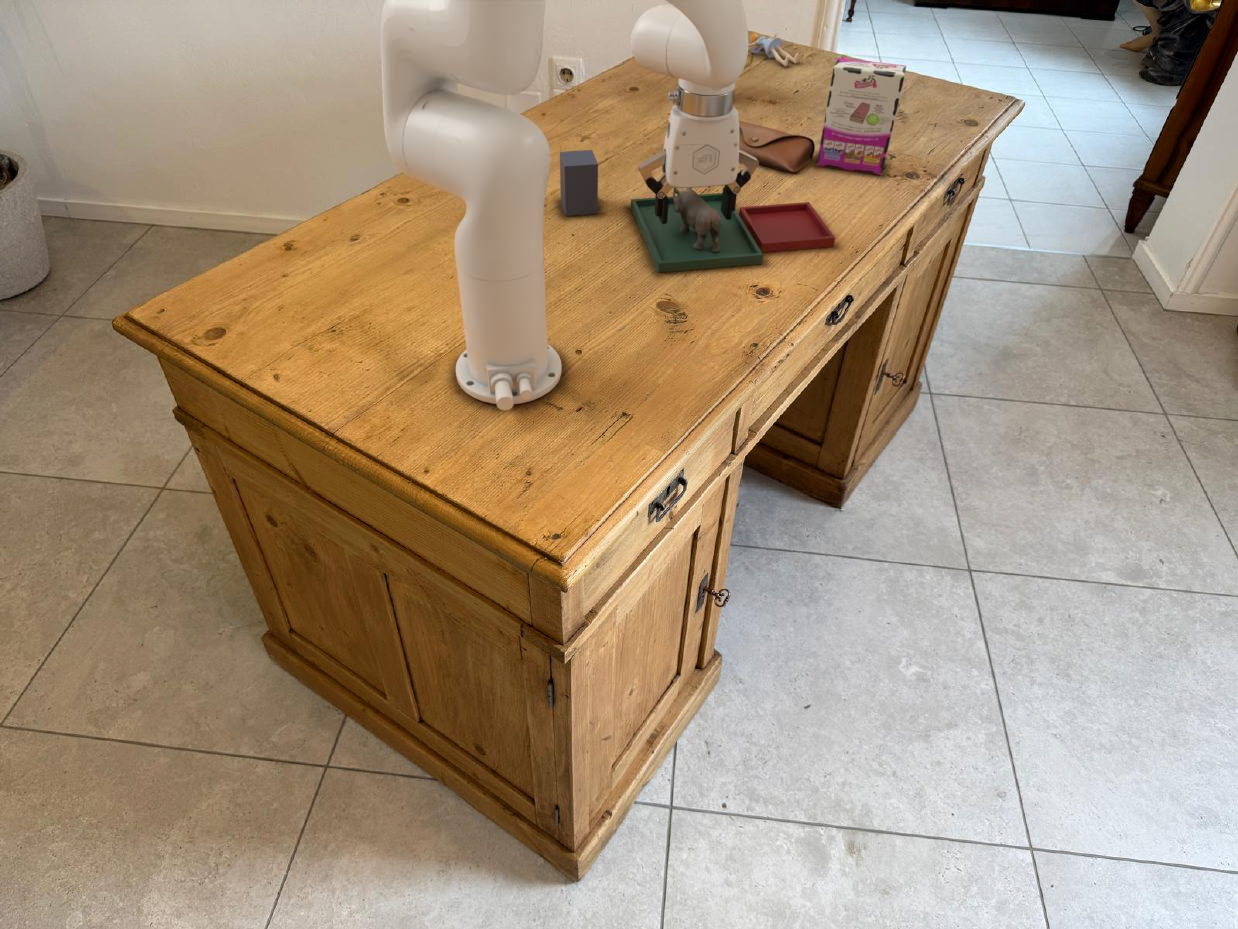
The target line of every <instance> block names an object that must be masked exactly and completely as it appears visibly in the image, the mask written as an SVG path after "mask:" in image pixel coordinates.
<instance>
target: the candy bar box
mask: <svg viewBox="0 0 1238 929" xmlns="http://www.w3.org/2000/svg"><path fill="white" fill-rule="evenodd" d="M906 70H907V65H903V64H895V63H887V62H881V61H880V62H879V61H871V60H870V61H869V60H863V59H862V60H860V59H852V58H844V57H837V59H836V61H835V63H834V65H833V69H832V74H831V79H830V85H829V92H828V98H827V103H826V110H825V114H824V120H823V126H822V132H821V138H820V142H819V143H820V144H819V148H818V153H817V159H816V166H817V167H821V168H829V169H835V170H842V171H850V172H856V173H864V174H871V175H877V176H881V175H883V172H884V168H885V164H886V161H887V156H888V152H889V147H890V143H891V139H892V135H893V130H894V125H895V122H896V117H897V114H898V113H897V112H898V108H899V104H900V99H901V95H902V91H903V90H902V89H903V85H904V81H905V75H906Z"/></svg>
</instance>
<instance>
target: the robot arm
mask: <svg viewBox="0 0 1238 929" xmlns="http://www.w3.org/2000/svg"><path fill="white" fill-rule="evenodd" d="M665 1H666V2H668V3H667V4H666V3H665V4H659V5H655V6H653V7H651V8H648V9H647V10H646V11H644V12H643V13H642V14H641V15H640V16H639V18H637V20H636V22H635V23H634V26H633V28H632V31H631V35H630V49H631V53H632V56H633V58H634V59H635V61H636V62H637V63H638V65H640V66H641V67H642V68H644V69H645V70H647V71H650V72H653V73H656V74H659V75H663V76H666V77H670V78H674V79H678V83H676V88H675V90H673V91H667V93H666V101H667V104H670V103H671V104H673V106H672V107H671V110H670V114H669V118H668V122H667V125H666V126H667V127H666V129H665V130H666V131H665V136H664V142H663V148H662V149H663V150H662V151H660V152H658V153H656V154H655V155H653V156H651V157H649V158H648V159H646V160H644V161H642V162H641V163H639V164H638V166H637V168H638V170H639V173H640V175H641V177H642V178H643V181H644V183H645V185H646V187H647V188H648V189H649V190H651V191H652V192H653V194H654V195H655V196H654V198H655V215H656V216H658V217H659V219H660V221H661V223H662V224H666V223H667V218H668V204H669V199H668V197H669V196H668V194H669V193H670V192H671V191H672V190H673V189H674V188H677V189H687V188H692V189H693V188H710V187H711V188H712V187H723V188H722V193H723V194H722V202H721V212H722V214H723V215H724V217H725V219H727V220H731V215H732V211H735V209H736V205H737V204H736V203H737V197H738V194H740V192H741V189H742V188H743V187H744V186H745V185H746V184H747V183H748V182H750V180H751V179H752V176H753V175H754V173H755V172H756V170H757V168H758V167H759V161H758V160H757V158H756V157H754V156H752V155H750V154H748V153H746V152H744V151H742V150H740V149H739V121H740V116H739V115H740V114H739V110H738V109H737V108H736V107H735V106H734V101H735V100H734V99H735V92H736V82H737V81H738V80H739V78H740V77H741V76H742V74H743V72H744V70H745V69H746V68H745V65H747V60H748V57H749V55H748V51H749V47H748V44H749V31H748V30H749V29H748V24H747V19H746V12H745V8H744V2H743V0H665ZM545 6H546V0H384V2H383V6H382V11H381V15H380V16H381V17H380V66H381V68H380V69H381V88H382V92H381V93H382V114H383V115H382V116H383V130H384V137H385V143H386V147H387V150H388V154H389V156H390V159H391V160H392V162H393V163H394V165H395V166H396V167H397V169H399V170H400V171H401V172H402V173H403V174H404V175H406V176H407V177H409V178H410V179H413V180H415V181H418V182H420V183H422V184H425V185H428V186H430V187H432V188H435V189H437V190H440V191H442V192H444V193H448V194H449V195H451V196H453V197H456V198H458V199H460V200H462V201H463V202H464V204H465V214H464V216H463V218H462V219H461V221H460V222H459V224H458V225H457V228H456V230H455V233H454V240H453V248H454V260H455V265H456V266H455V267H456V274H457V281H458V282H457V283H458V290H459V298H460V306H461V307H460V308H461V315H462V316H461V317H462V324H463V332H464V341H465V350H463V351H462V353H461V354H460V355H459V357H458V359H457V361H456V364H455V376H456V381H457V383H458V385H459V386H460V388H461V389H462V390H463V392H465V393H466V395H469V396H471V398H474V399H476V400H479V401H481V402H483V403H484V402H485V403H488V404H492V405H496V407H497V408H498V410H501V411H508V410H511V409H512V408H513V407H514V405H518V404H524V403H527V402H532V401H535V400H536V399H539V398H541V397H544V396H545V395H547V394H548V393H549V392H551V391H552V390H553V389H554V388H555V387H556V386H557V384H558V383H559V382H560V379H561V377H562V371H563V370H562V369H563V368H562V367H563V366H562V359H561V357H560V354H559V353H558V352H557V351H556V349H555V348H554V347H553V346H551V345H550V344H548V320H547V319H548V318H547V297H546V296H547V295H546V294H547V293H546V272H545V271H546V270H545V242H544V222H545V221H544V220H545V219H544V217H545V216H544V215H545V204H546V197H547V190H548V184H549V179H550V174H551V173H550V171H551V162H552V161H551V160H552V153H551V147H550V143H549V141H548V139H547V137H546V135H545V133H544V132H543V130H542V129H541V128H540V127H539V126H538V125H537V124H536V123H534V122H533V121H532V120H531V119H530V118H528V117H527V116H524V115H523V114H522V113H520V112H517V111H515V110H512V109H510V108H506V107H504V106H501V105H498V104H495V103H491V102H489V101H485V100H482V99H479V98H475V97H470V96H469V95H465V94H462V93H459V92H458V84H460V85H463V86H466V87H469V88H473V89H475V90H480V91H483V92H487V93H491V94H494V95H495V94H496V95H501V96H502V95H503V96H508V95H509V96H510V95H512V96H513V95H517V94H519V93H522V92H524V91H526V90H527V89H528V88H529V87H530V86H531V85H532V84H533V83H534V81H535V80H536V77H537V75H538V72H539V68H540V63H541V58H542V50H543V40H544V25H545V10H546V9H545V8H546V7H545ZM744 68H745V69H744ZM674 104H675V105H674ZM739 162H740V163H742V164H743V165H744V166H743V168H742V169H741V170H740V171H739ZM660 167H661V171H662V174H661V175H660V176H659V178H658V179H656V178H654V176H652V172H653V171H654V170H657V169H658V168H660Z"/></svg>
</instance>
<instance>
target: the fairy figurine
mask: <svg viewBox="0 0 1238 929" xmlns="http://www.w3.org/2000/svg"><path fill="white" fill-rule="evenodd" d="M778 34H779V33H778V32H776V33H775V34H774V35H773V36H771V37H769V38H767V37H766V36H765V35H758V34H757V33H752V34H751V37H750V40H751V43H748V48H750V47H752V48H750V50H749V51H750V52H751V53H758V52H760V51H761V50H764V52H765V54H766V57H767V58H768V59H773V58H774V59H775V60H776V61H777V62H779V63H780V64H782V65H783V67H788V64H789V61H791V62H792V63H794V64H797V63H798V61H799V56H800V54H799V53H798V52H797V53H796V54H795V56H794V57H793V56H791V54H789V53H788V52H787V51H785V50H783V48H782V44H783V42H782V39H781V38H780V37H778ZM779 54H780V55H779ZM781 56H782V57H783V58H784V59H783V58H782V57H781Z"/></svg>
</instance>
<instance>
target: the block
mask: <svg viewBox="0 0 1238 929" xmlns="http://www.w3.org/2000/svg"><path fill="white" fill-rule="evenodd" d="M559 176H560V177H559V179H560V180H559V181H560V184H559V185H560V203H561V205H562V209H563V212H564V216H565V217H571V216H572V217H573V216H587V215H597V214H598V212H599V211H598V209H599V163H598V161H597V158H596V156H595V153H594V151H593V149H585V150H584V149H583V150H567V151H559Z"/></svg>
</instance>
